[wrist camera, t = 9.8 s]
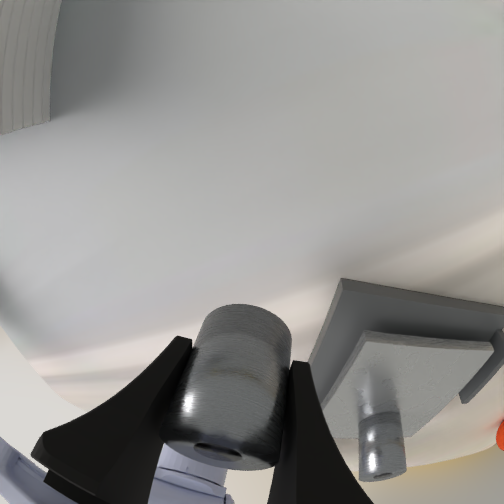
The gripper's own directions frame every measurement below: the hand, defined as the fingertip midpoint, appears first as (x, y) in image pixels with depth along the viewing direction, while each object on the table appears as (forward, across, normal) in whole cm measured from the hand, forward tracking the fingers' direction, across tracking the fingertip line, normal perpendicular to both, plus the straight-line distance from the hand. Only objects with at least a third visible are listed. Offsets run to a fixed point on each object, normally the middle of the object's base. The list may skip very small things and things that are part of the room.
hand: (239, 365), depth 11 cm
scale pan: (+6, -13, +9) cm, 17 cm away
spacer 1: (+2, 0, 0) cm, 2 cm away
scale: (+8, -13, +9) cm, 18 cm away
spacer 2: (+5, -13, +12) cm, 18 cm away
